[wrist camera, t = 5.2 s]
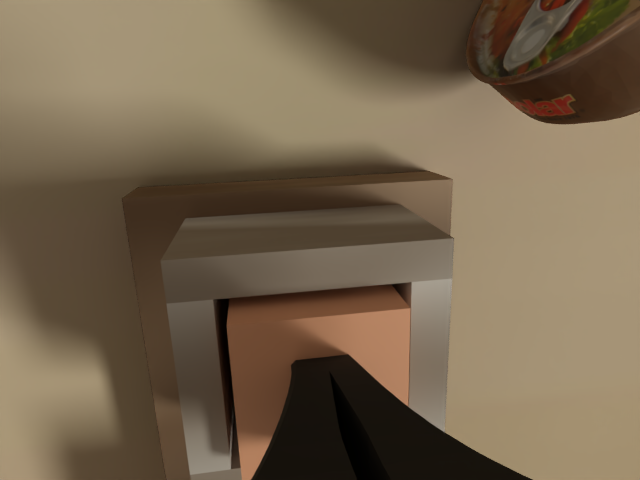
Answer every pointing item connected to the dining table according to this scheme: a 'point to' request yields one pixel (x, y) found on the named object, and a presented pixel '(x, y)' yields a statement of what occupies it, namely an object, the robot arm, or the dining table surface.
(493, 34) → the tin
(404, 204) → the press board
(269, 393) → the terracotta plunger
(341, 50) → the dining table surface
